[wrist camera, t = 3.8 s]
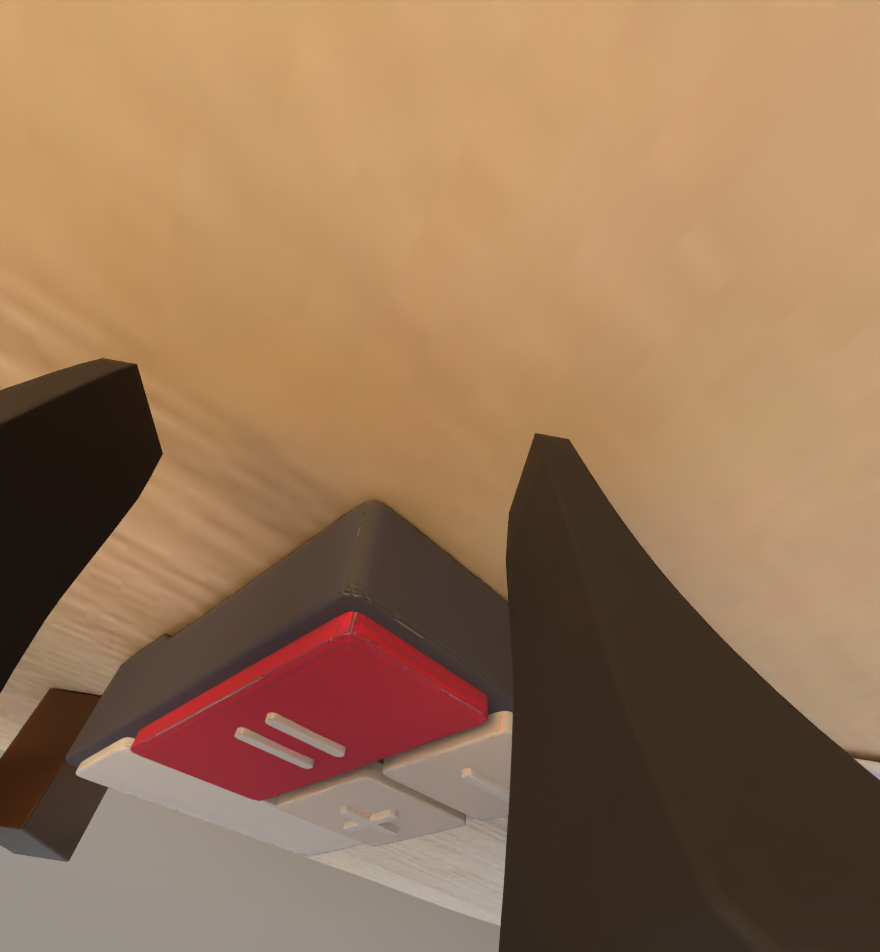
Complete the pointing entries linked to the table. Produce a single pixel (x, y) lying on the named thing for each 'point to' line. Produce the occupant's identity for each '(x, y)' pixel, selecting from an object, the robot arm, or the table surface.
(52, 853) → the corner blocks
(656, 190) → the table surface
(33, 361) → the table surface
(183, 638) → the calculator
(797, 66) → the table surface
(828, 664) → the table surface
